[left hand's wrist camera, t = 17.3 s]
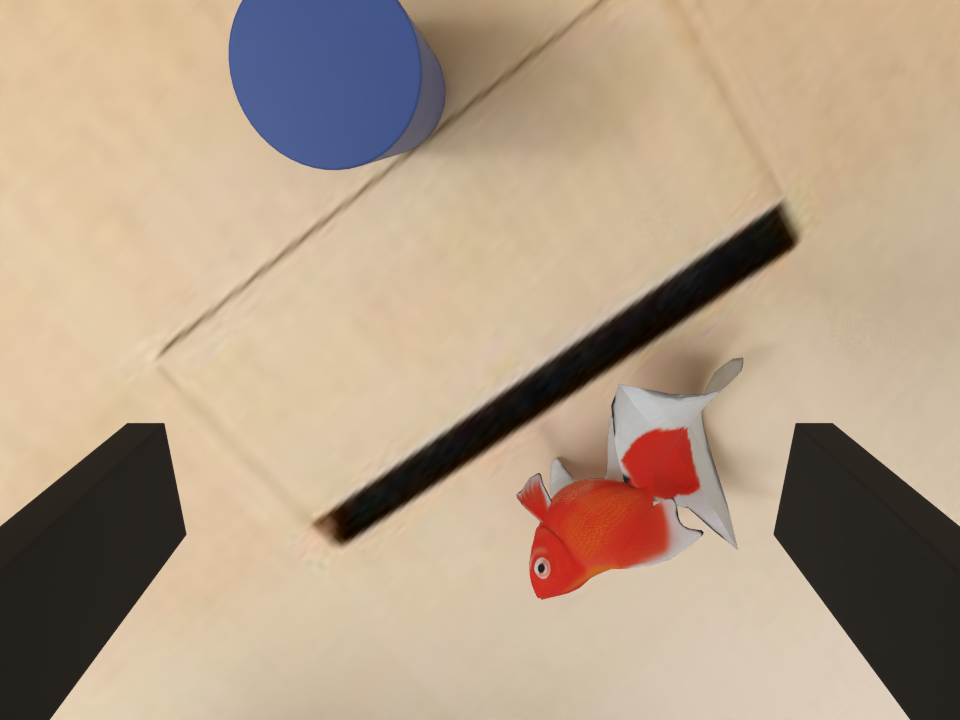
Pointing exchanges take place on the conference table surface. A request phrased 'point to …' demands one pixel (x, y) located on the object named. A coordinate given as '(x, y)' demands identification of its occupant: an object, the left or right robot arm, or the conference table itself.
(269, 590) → the conference table surface
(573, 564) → the fish
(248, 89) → the canister
